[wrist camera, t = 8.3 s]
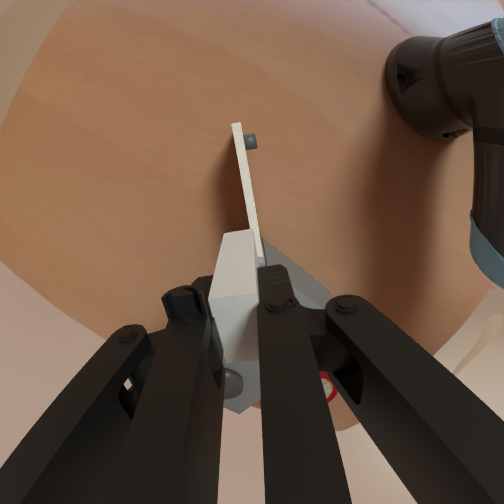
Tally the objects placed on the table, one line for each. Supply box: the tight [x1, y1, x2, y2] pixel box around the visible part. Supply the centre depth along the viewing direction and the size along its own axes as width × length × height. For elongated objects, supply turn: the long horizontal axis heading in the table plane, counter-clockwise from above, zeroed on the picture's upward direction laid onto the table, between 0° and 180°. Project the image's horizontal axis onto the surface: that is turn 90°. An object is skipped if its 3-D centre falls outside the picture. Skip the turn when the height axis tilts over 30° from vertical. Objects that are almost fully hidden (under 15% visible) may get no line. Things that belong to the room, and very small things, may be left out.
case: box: [223, 238, 332, 414], centre depth 36 cm, size 20×12×10 cm, turn 141°
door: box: [232, 122, 265, 267], centre depth 29 cm, size 14×2×8 cm, turn 9°
